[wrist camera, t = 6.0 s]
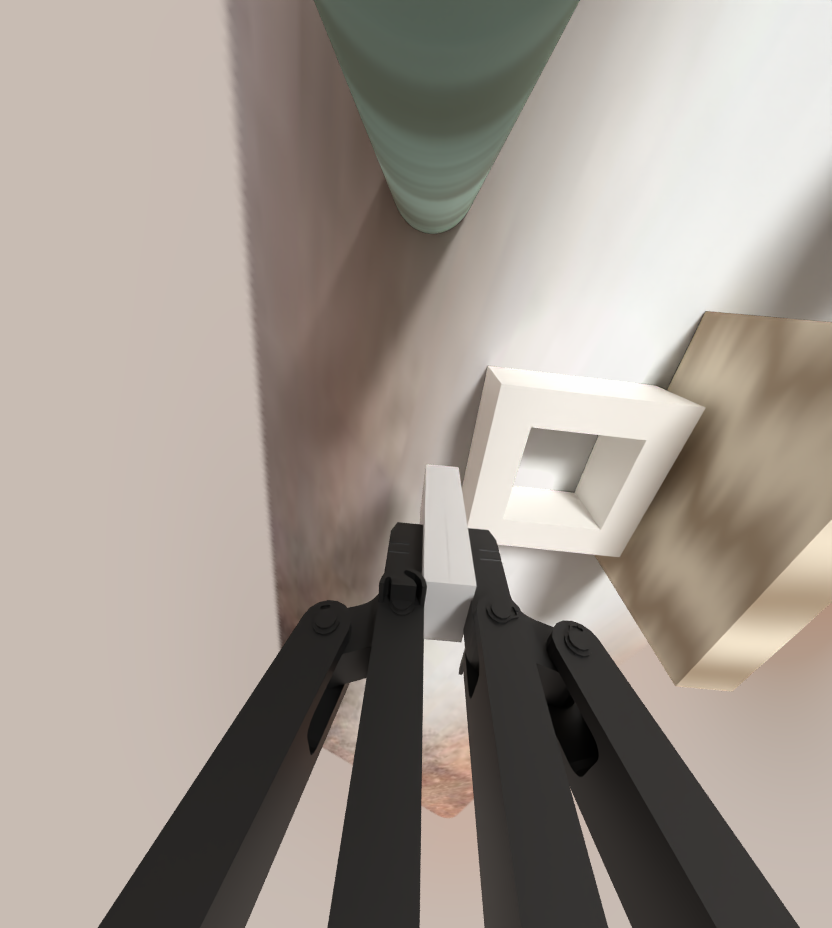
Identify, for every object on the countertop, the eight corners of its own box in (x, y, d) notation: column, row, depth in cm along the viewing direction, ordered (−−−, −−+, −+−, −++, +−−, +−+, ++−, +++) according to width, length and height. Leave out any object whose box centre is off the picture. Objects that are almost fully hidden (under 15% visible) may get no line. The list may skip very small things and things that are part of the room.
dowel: (393, 115, 14) (106, -1299, 1) (485, 126, 14) (937, -1139, 2) (388, 229, 16) (247, 25, 3) (469, 237, 16) (612, 69, 4)
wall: (705, 311, 17) (1001, 337, 8) (760, 317, 17) (1114, 349, 8) (589, 547, 25) (675, 686, 16) (627, 551, 25) (732, 691, 17)
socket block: (487, 365, 19) (501, 383, 15) (654, 385, 19) (705, 407, 15) (458, 503, 24) (463, 540, 20) (591, 517, 24) (619, 557, 20)
